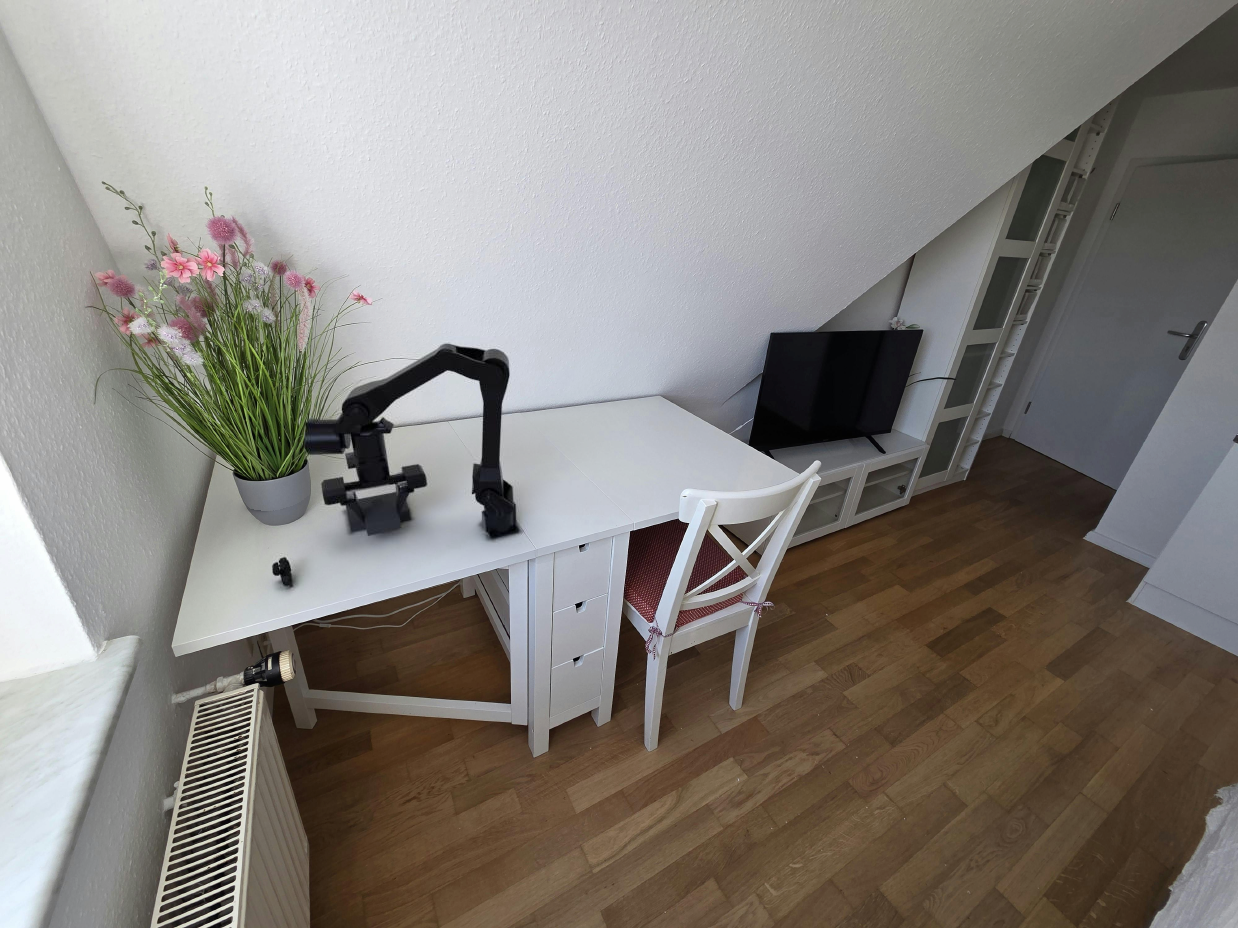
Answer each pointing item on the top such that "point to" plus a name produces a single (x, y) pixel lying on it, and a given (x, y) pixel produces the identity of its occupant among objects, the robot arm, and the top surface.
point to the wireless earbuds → (283, 571)
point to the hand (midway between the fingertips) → (381, 518)
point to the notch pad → (366, 502)
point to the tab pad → (381, 517)
